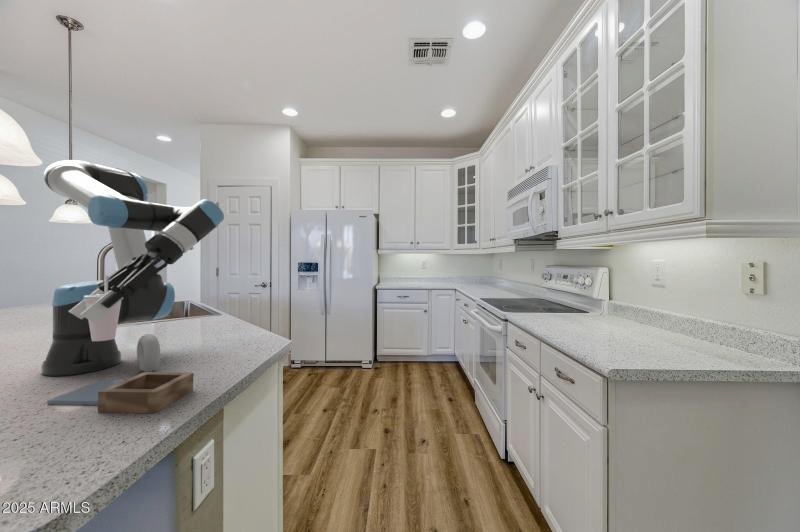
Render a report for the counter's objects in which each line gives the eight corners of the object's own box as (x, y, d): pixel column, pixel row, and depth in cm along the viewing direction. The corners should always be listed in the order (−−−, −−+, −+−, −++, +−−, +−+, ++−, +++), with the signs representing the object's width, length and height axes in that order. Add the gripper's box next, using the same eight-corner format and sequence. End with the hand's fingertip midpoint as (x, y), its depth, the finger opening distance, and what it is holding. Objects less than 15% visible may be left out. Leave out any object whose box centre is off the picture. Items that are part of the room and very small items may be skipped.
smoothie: (98, 343, 64) (98, 276, 64) (74, 341, 65) (75, 275, 65) (130, 336, 70) (131, 275, 70) (108, 335, 71) (109, 274, 71)
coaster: (100, 383, 73) (100, 380, 73) (146, 384, 73) (146, 380, 73) (47, 404, 62) (47, 400, 62) (102, 405, 62) (102, 401, 62)
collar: (144, 389, 70) (145, 371, 70) (193, 390, 70) (193, 372, 70) (97, 412, 59) (98, 391, 59) (155, 413, 59) (155, 392, 59)
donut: (134, 369, 83) (135, 332, 83) (150, 366, 86) (151, 330, 86) (145, 377, 77) (146, 338, 77) (162, 374, 80) (162, 335, 80)
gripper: (202, 254, 76) (116, 332, 62) (164, 255, 86) (81, 323, 71) (178, 230, 71) (79, 309, 57) (141, 234, 81) (48, 302, 67)
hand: (81, 316), depth 64 cm, fingers closed on smoothie, 6 cm apart
